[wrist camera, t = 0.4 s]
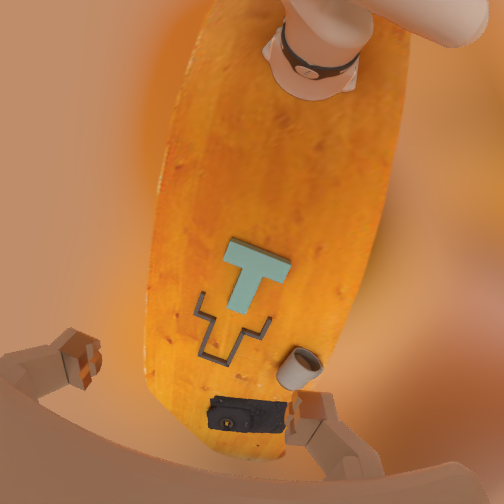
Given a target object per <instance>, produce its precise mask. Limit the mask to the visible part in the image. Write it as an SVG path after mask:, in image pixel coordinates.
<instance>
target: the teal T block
mask: <svg viewBox="0 0 504 504" xmlns="http://www.w3.org/2000/svg"><path fill="white" fill-rule="evenodd" d="M223 261H225V262H228V263H230V264H233V265H236V266H238V267H241V268H242V270H241V272H240V274H239V277H238V279H237V282H236V284H235V286H234V289H233V291H232V294H231V296H230V298H229V301H228V304H227V308H228V309H230V310H233V311H236V312H238V313H241V314H244V315H246V312H247V310H248V308H249V306H250V304H251V302H252V299H253V297H254V295H255V293H256V291H257V288H258V286H259V284H260V282H261V279H262V277H266V278H269V279H271V280H274V281H276V282H279V283H281V284H283V282H284V280H285V278H286V276H287V274H288V271H289V269H290V267H291V262H290V260H288V259H285V258H283V257H280V256H278V255H275V254H273V253H270V252H268V251H265V250H263V249H261V248H258V247H256V246H253V245H251V244H248V243H246V242H243V241H241V240H238V239H236V238H233V237H232V239H231V241H230V243H229V246H228V248H227V251H226V253H225V256H224V259H223Z"/></svg>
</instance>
